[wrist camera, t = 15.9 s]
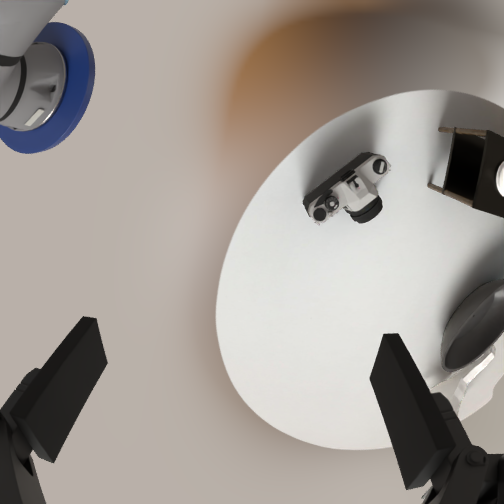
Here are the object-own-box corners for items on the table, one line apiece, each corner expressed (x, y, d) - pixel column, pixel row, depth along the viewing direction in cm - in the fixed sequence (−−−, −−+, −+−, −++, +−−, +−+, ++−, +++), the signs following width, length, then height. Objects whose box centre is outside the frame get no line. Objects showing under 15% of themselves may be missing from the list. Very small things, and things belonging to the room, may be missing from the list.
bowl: (417, 338, 54) (429, 358, 49) (491, 252, 48) (510, 265, 42) (446, 361, 57) (457, 380, 51) (513, 285, 50) (530, 299, 44)
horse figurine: (405, 381, 69) (495, 342, 54) (402, 439, 57) (505, 405, 42) (396, 372, 68) (489, 331, 53) (392, 433, 56) (501, 397, 41)
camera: (328, 239, 48) (346, 259, 40) (295, 200, 46) (307, 214, 38) (390, 183, 46) (419, 193, 37) (360, 143, 44) (386, 144, 35)
